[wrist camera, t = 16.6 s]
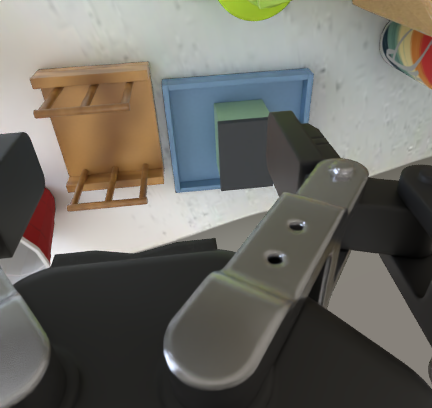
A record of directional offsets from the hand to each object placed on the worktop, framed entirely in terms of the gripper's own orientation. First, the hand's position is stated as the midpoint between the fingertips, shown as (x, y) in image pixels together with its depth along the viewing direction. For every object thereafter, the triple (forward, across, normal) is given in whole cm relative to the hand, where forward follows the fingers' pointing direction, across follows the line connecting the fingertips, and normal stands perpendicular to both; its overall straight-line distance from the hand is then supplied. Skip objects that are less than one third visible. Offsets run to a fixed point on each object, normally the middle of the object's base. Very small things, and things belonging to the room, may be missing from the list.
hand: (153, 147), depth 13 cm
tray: (+28, -7, +13) cm, 32 cm away
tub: (+28, -7, +13) cm, 31 cm away
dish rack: (+28, +8, +11) cm, 31 cm away
